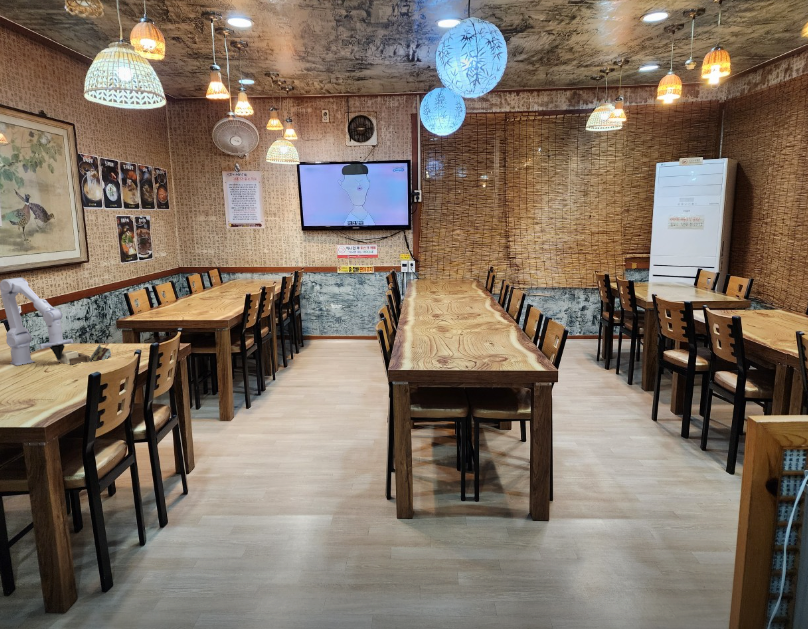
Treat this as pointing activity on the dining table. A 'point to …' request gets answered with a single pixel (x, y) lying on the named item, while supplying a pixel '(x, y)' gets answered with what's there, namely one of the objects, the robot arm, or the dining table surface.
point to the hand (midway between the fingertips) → (59, 359)
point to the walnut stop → (79, 359)
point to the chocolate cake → (100, 353)
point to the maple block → (68, 356)
